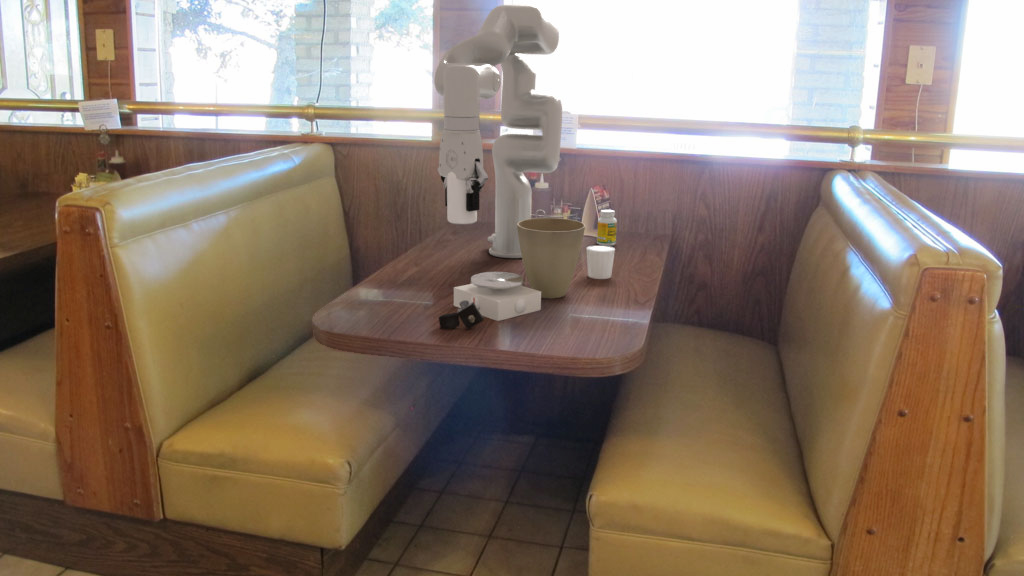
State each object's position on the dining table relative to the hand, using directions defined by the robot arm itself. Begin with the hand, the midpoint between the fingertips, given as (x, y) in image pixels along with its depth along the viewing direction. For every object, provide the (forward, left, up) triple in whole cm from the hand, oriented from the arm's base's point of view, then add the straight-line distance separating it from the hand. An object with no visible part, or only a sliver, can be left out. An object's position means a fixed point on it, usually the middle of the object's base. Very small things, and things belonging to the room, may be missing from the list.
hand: (462, 207), depth 184 cm
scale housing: (+14, -2, -19) cm, 24 cm away
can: (0, 0, -3) cm, 3 cm away
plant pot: (+14, +14, -19) cm, 27 cm away
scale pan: (+14, -2, -14) cm, 20 cm away
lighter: (+20, -17, -19) cm, 33 cm away
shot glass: (+10, +35, -19) cm, 41 cm away
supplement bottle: (-13, +64, -19) cm, 68 cm away
